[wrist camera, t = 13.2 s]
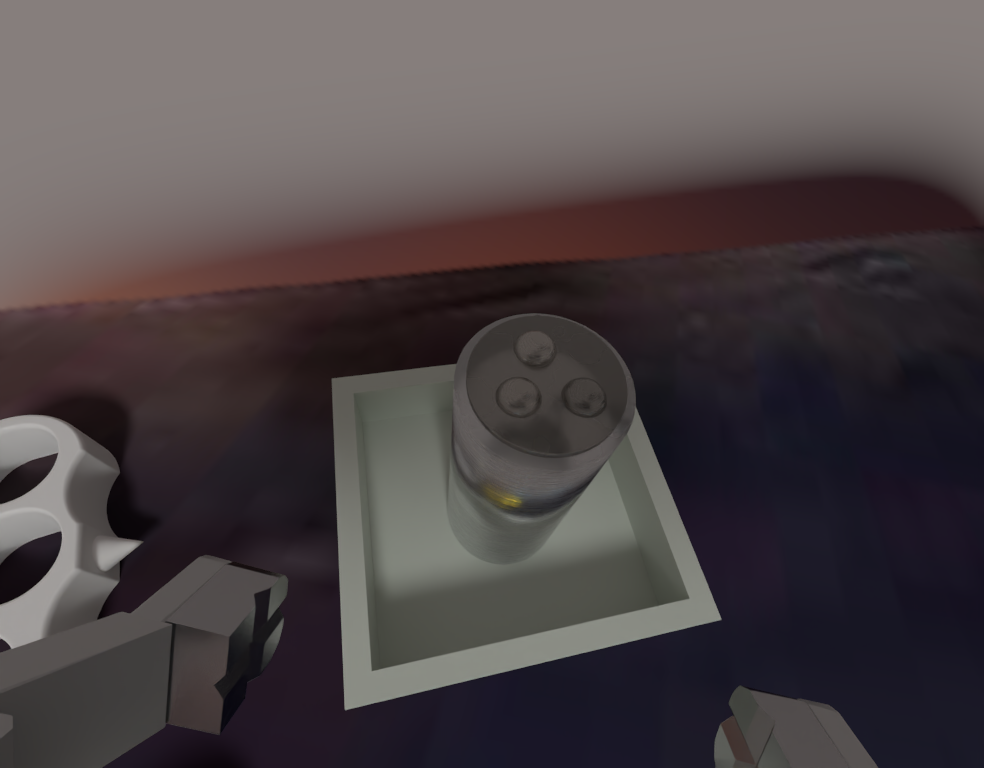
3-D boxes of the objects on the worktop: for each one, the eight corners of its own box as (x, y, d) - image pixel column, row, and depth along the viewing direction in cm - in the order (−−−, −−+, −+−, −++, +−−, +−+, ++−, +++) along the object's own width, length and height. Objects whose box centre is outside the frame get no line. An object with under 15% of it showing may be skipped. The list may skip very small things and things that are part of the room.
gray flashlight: (539, 451, 26) (609, 289, 16) (567, 552, 24) (675, 441, 13) (440, 466, 25) (441, 305, 15) (457, 574, 23) (474, 474, 12)
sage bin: (591, 383, 30) (610, 345, 27) (680, 628, 23) (721, 619, 20) (345, 415, 27) (331, 378, 24) (360, 705, 20) (344, 710, 17)
